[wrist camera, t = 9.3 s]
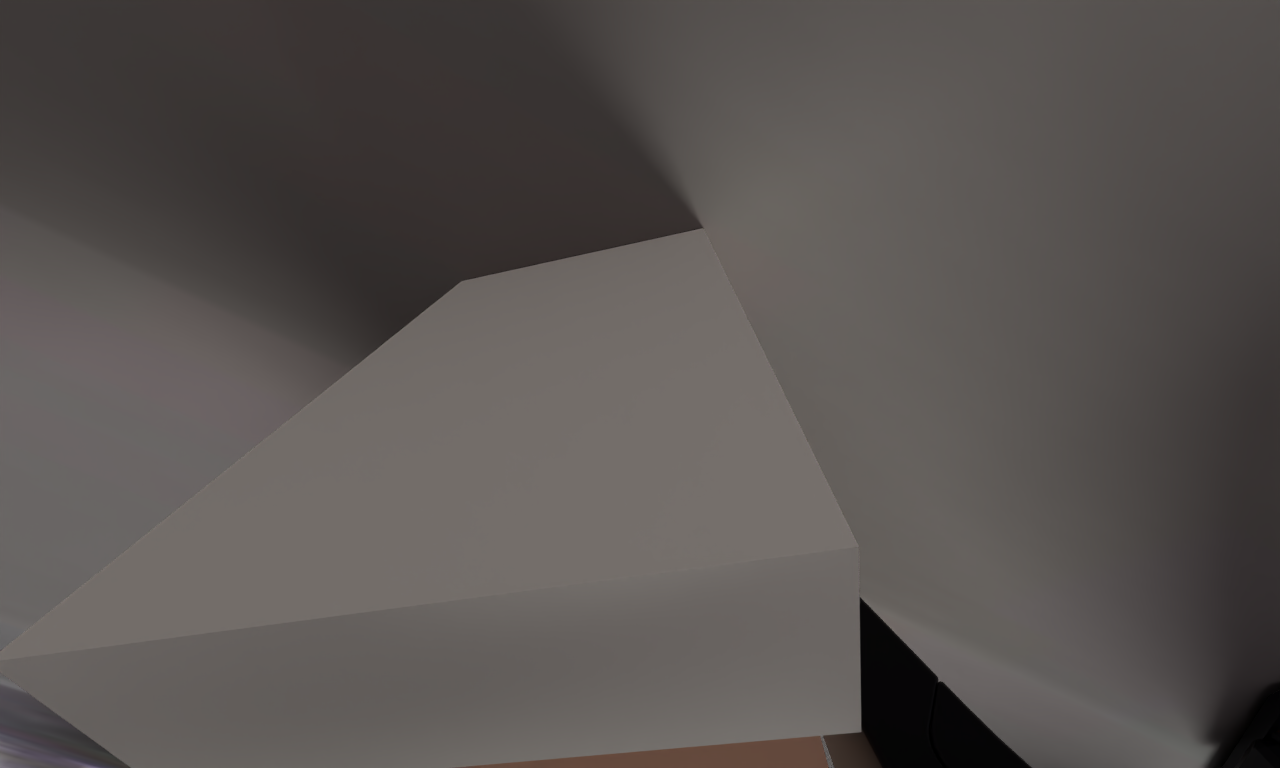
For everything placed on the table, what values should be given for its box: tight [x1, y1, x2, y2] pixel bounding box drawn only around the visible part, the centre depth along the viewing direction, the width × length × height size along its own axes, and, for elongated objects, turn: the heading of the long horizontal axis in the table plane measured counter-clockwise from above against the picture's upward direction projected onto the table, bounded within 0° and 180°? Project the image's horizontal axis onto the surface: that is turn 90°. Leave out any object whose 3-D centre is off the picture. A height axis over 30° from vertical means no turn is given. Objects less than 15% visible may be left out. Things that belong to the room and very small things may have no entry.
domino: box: [0, 228, 861, 768], centre depth 6 cm, size 2×5×8 cm, turn 102°
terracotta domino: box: [455, 736, 829, 768], centre depth 8 cm, size 2×5×8 cm, turn 102°
